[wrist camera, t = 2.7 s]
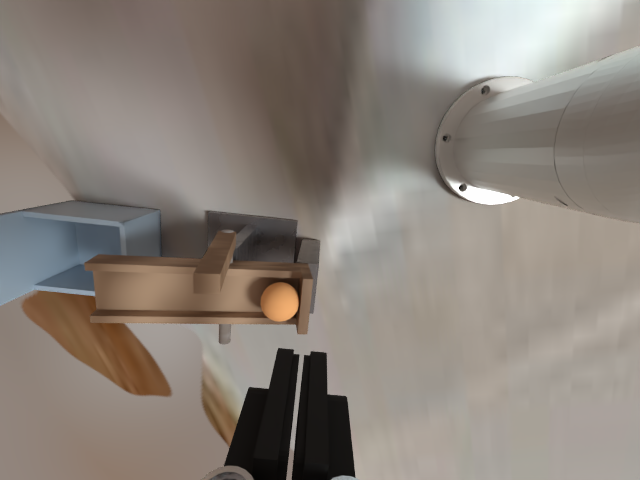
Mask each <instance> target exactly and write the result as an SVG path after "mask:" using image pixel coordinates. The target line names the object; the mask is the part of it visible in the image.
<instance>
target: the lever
mask: <svg viewBox="0 0 640 480" xmlns="http://www.w3.org/2000/svg"><path fill="white" fill-rule="evenodd" d="M235 247H236V232H234V231H233V230H222V231H218V233H217V234H216V236H215V238H214V239H213V241H212V243H211V244H210V246H209V248H208V249H207V251H206V253H205V254H204V256H203V258H202V259H194V258H172V257H150V256H128V255H105V254H98V255H96V256H95V257H93V258H91V259H90V260H88V261H87V262H85V263H84V266H85V271H93V279H94V289H95V299H96V309H97V310H96V311H95V312H93V313H92V314H91V315H90V322H91V323H180V324H219V343H220V344H228V343H229V342H230V334H231V324H296V327H297V333H298V334H307V331H308V322H309V313H310V304H311V295H312V285H313V277H312V274H311V271H310V268H309V266H308V264H306V263H284V262H261V261H239V260H233V253H234V250H235ZM277 282H284V283H287V284H289V285H291V286H292V287H294V288H295V290H296V291H297V293H298V295H299V307H298V310H297V312H296V313H295V315H294V316H293V317H291V318H290V319H288V320H286V321H281V322H278V321H273V320H271V319H269V318H268V317H267V316H266V315H265V314H264V313H263V311H262V308H261V296H262V294H263V292H264V290H265V289H266V288H267V287H268V286H270V285H271V284H274V283H277Z"/></svg>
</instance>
